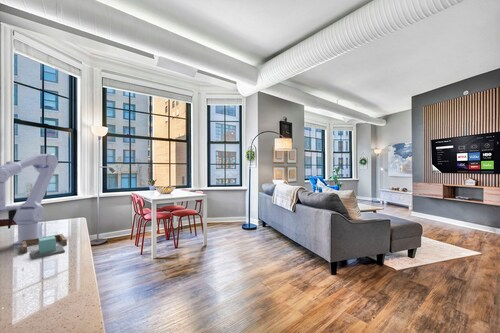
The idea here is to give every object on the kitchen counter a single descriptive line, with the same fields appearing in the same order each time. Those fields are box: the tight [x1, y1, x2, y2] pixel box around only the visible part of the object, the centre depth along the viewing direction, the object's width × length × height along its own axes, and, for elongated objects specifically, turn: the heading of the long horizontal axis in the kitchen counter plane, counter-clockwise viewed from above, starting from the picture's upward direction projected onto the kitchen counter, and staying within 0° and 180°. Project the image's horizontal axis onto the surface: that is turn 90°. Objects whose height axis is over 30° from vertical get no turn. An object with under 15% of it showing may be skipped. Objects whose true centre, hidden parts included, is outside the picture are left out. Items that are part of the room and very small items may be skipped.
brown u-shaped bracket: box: [21, 233, 68, 254], centre depth 108 cm, size 13×14×2 cm
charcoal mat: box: [30, 244, 66, 260], centre depth 99 cm, size 10×10×1 cm
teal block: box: [38, 235, 57, 253], centre depth 99 cm, size 5×5×5 cm
